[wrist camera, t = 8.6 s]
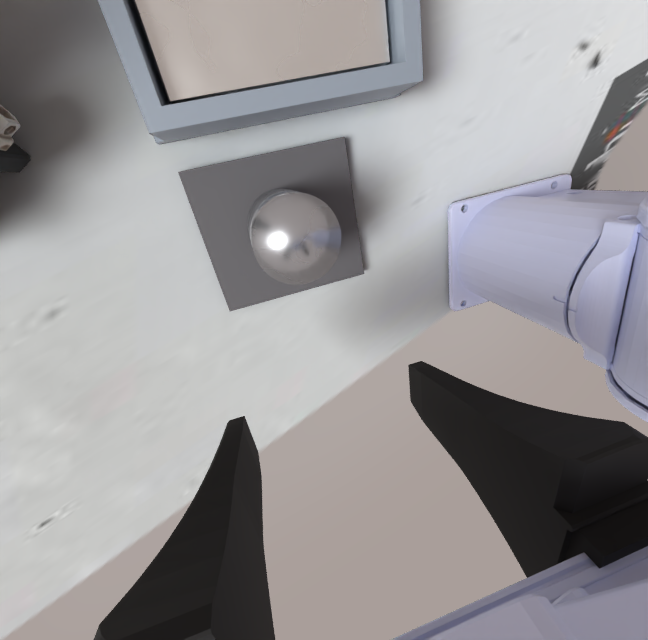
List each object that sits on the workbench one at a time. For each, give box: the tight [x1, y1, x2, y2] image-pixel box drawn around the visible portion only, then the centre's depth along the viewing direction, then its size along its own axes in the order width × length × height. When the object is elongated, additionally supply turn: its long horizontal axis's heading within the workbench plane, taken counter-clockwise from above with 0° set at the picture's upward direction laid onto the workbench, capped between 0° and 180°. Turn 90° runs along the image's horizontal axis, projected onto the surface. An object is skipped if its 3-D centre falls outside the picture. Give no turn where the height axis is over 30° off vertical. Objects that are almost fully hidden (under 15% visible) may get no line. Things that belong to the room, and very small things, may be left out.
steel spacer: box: [247, 188, 341, 285], centre depth 16 cm, size 4×4×5 cm
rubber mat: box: [178, 137, 364, 311], centre depth 19 cm, size 9×8×1 cm
